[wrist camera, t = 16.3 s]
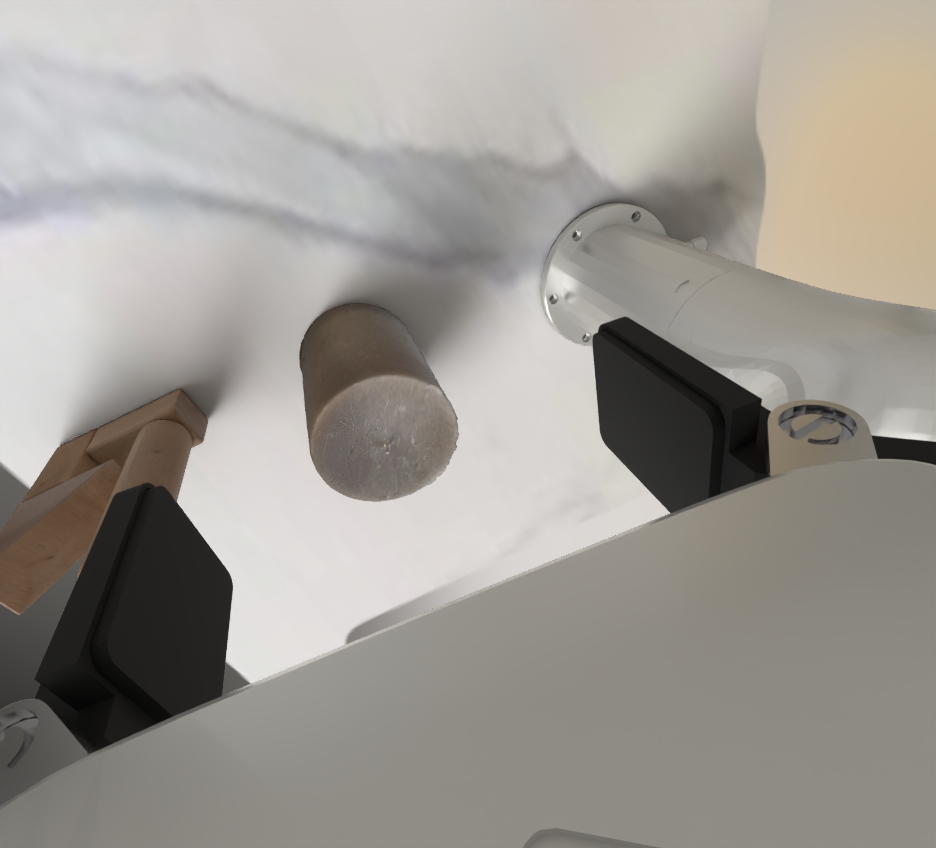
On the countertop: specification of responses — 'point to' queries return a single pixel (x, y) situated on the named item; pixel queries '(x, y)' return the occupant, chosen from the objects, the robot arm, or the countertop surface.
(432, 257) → the countertop surface
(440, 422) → the pillar candle
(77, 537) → the wooden block
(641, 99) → the countertop surface
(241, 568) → the countertop surface
